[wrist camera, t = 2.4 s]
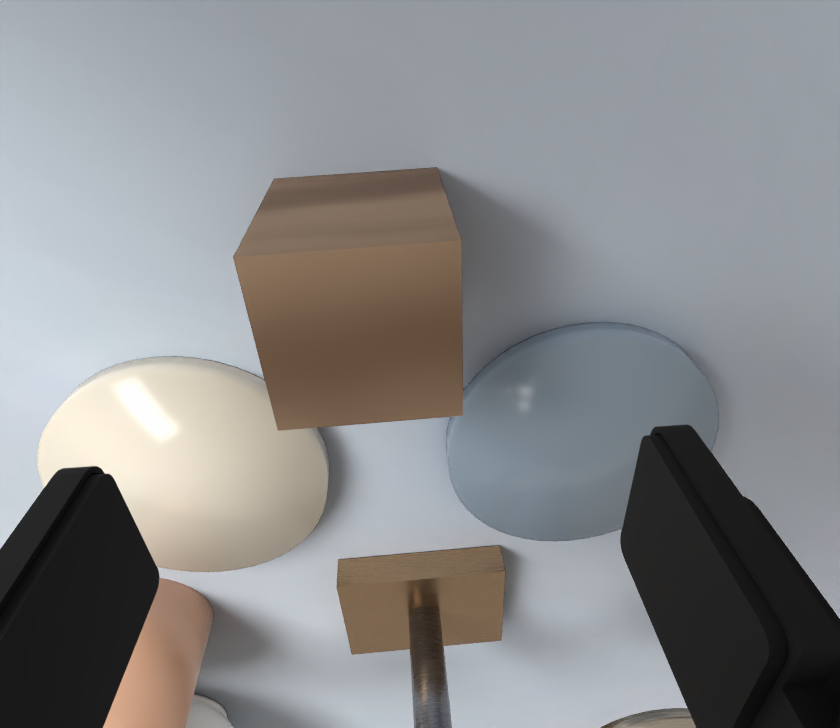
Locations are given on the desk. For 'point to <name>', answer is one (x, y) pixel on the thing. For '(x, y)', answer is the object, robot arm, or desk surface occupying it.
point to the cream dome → (194, 460)
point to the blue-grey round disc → (570, 427)
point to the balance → (439, 620)
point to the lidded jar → (207, 714)
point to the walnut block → (356, 298)
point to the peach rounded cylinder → (164, 661)
